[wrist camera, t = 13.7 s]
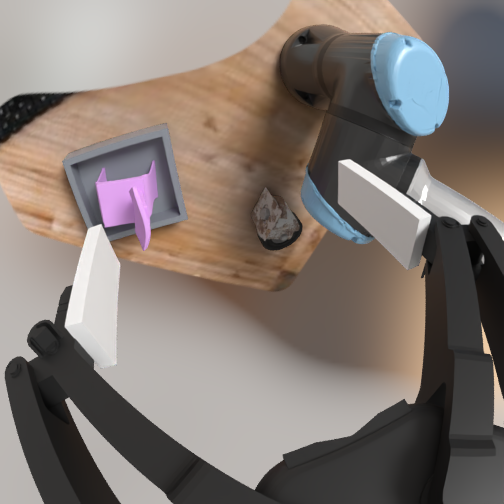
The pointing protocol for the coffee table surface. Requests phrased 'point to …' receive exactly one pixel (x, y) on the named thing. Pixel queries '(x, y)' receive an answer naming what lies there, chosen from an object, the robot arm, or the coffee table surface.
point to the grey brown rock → (275, 222)
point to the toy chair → (128, 202)
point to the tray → (127, 176)
